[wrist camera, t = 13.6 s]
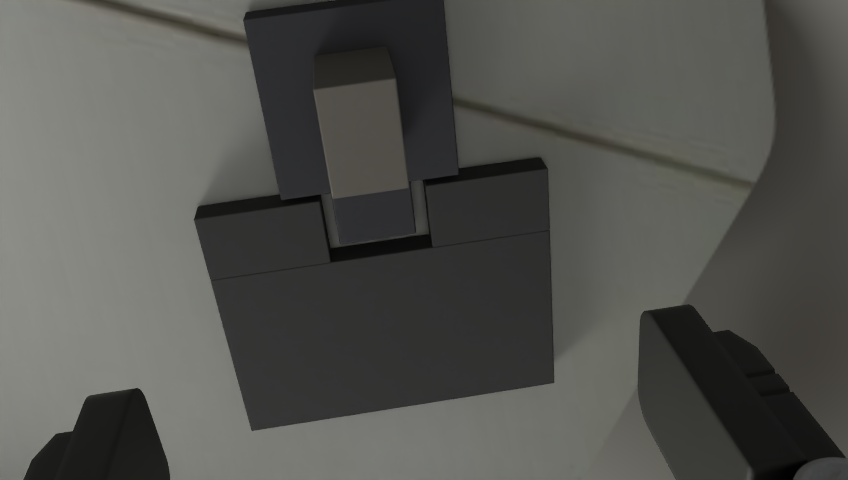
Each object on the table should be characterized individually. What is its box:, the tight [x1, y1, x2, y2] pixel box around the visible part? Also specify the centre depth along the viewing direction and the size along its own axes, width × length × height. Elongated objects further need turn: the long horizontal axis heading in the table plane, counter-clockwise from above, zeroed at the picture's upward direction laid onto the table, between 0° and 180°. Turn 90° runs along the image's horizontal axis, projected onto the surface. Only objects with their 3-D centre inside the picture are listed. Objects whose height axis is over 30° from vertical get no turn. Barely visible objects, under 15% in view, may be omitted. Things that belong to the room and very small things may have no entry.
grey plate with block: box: [243, 0, 459, 244], centre depth 37 cm, size 9×12×6 cm
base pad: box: [194, 158, 554, 431], centre depth 45 cm, size 18×14×2 cm
